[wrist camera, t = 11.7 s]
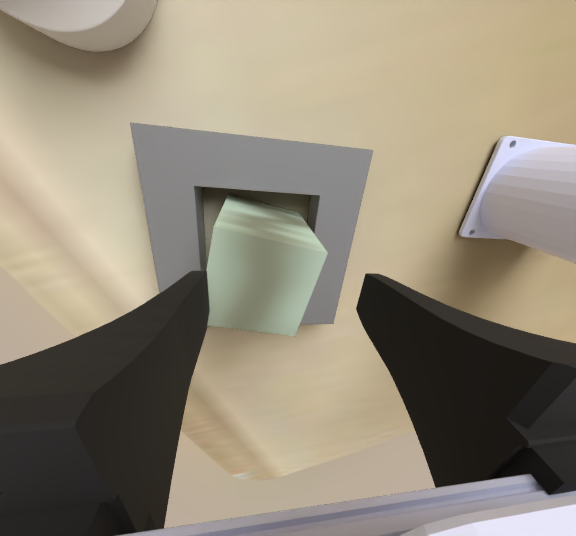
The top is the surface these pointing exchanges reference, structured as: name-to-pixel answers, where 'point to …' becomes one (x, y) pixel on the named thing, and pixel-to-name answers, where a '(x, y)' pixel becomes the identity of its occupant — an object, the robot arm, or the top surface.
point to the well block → (247, 176)
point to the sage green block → (261, 267)
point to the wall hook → (85, 20)
